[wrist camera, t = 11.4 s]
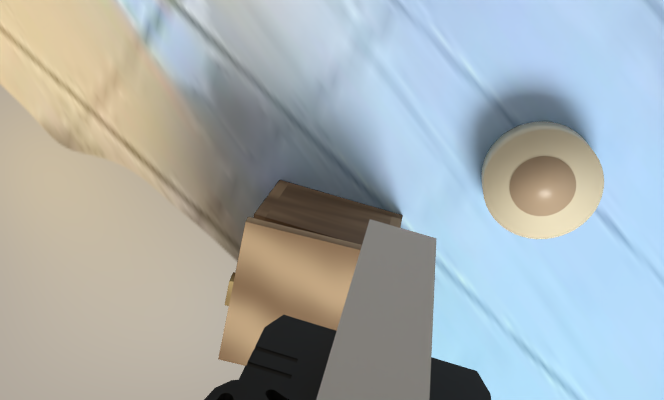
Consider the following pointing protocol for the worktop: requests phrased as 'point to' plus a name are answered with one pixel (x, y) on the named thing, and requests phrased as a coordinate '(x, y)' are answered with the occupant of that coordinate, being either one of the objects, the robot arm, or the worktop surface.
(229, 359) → the lid
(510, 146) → the domed cap
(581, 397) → the worktop surface
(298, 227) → the chest
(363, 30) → the worktop surface
